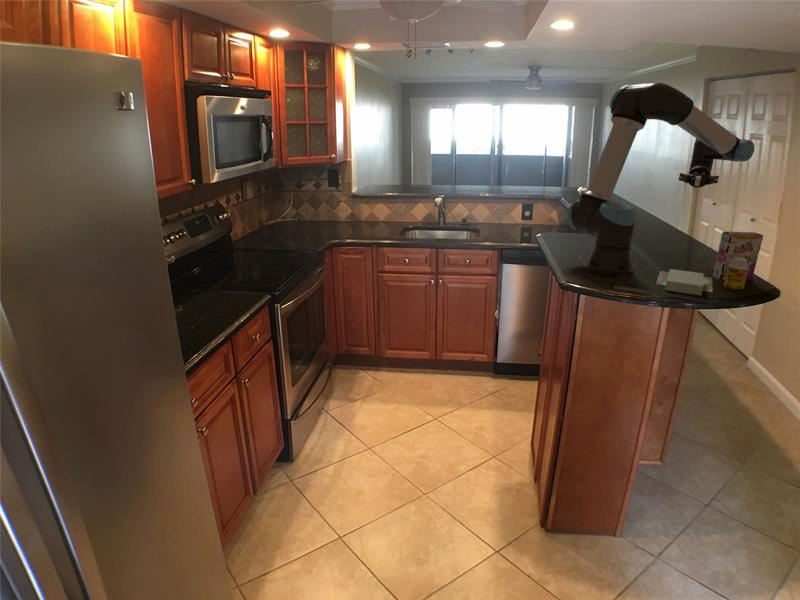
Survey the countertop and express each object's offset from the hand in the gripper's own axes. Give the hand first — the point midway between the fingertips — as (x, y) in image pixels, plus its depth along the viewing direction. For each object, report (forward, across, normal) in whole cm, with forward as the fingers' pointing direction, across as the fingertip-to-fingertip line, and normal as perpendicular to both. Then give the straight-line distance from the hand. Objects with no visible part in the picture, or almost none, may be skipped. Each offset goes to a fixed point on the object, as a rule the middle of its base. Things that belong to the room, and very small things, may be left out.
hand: (697, 181), depth 181 cm
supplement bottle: (+14, -16, -32) cm, 38 cm away
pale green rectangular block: (+14, -2, -29) cm, 32 cm away
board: (+15, -2, -32) cm, 35 cm away
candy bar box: (+2, -16, -32) cm, 36 cm away
